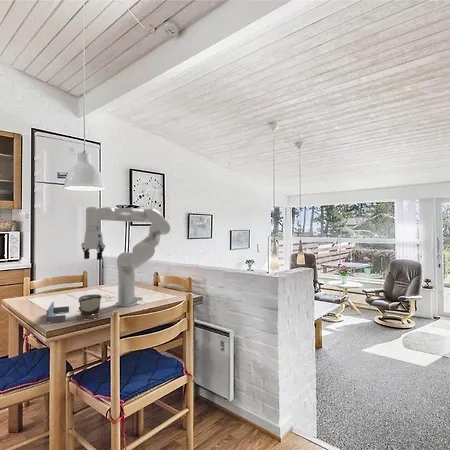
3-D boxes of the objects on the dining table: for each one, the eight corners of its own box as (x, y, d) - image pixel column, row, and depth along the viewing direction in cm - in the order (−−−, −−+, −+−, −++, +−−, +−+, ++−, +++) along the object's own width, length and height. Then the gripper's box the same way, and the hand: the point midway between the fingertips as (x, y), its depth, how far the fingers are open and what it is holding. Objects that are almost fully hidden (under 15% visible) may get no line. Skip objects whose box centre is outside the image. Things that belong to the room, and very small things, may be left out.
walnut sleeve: (98, 308, 186) (98, 305, 186) (97, 318, 165) (97, 314, 165) (79, 310, 182) (79, 306, 182) (76, 320, 162) (76, 316, 162)
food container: (95, 311, 180) (95, 293, 180) (101, 313, 177) (101, 294, 177) (73, 315, 171) (73, 297, 171) (79, 318, 167) (79, 298, 167)
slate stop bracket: (69, 311, 179) (69, 300, 179) (65, 321, 161) (65, 309, 161) (52, 313, 176) (52, 302, 176) (46, 323, 158) (46, 310, 158)
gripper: (109, 228, 183) (109, 259, 182) (87, 228, 190) (87, 258, 190) (99, 228, 176) (99, 260, 176) (76, 228, 183) (76, 259, 183)
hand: (93, 259), depth 183 cm, fingers open, 9 cm apart
